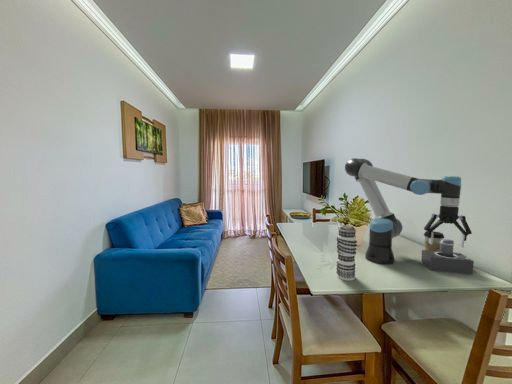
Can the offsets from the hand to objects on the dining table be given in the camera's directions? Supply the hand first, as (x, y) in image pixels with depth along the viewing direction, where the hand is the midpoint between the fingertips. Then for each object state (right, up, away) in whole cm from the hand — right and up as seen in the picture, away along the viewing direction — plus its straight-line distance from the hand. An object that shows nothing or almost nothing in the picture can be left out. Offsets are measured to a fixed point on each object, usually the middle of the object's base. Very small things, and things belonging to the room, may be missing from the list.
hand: (445, 245), depth 123 cm
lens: (0, -7, 0) cm, 7 cm away
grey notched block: (0, -12, +1) cm, 12 cm away
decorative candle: (-57, -13, -10) cm, 60 cm away
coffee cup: (+5, -11, +16) cm, 20 cm away
